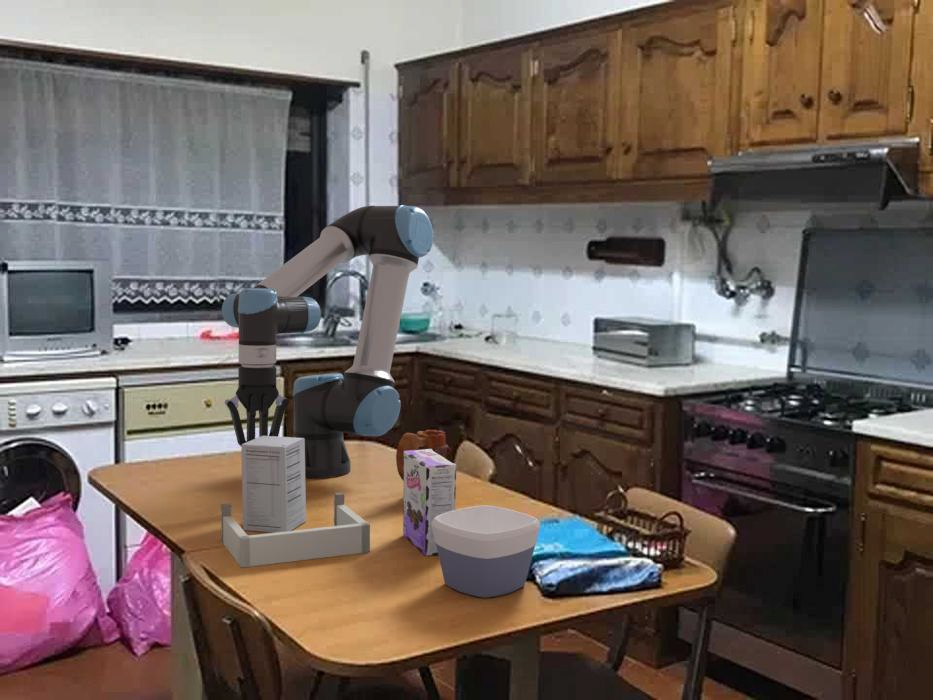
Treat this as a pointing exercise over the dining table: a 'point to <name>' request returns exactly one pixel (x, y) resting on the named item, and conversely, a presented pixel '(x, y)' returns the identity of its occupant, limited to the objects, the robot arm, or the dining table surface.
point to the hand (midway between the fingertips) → (257, 480)
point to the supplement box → (273, 484)
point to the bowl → (485, 549)
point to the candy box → (426, 495)
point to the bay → (297, 539)
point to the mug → (421, 445)
